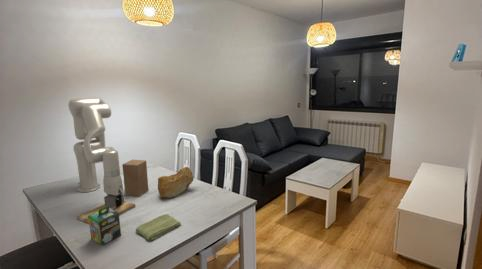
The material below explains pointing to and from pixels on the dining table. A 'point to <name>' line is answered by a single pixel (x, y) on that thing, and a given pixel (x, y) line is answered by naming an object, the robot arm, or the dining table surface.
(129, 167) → the wooden block
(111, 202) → the block
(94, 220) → the chalk box
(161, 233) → the washcloth
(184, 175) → the rough brown rock
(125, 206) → the board
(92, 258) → the dining table surface
